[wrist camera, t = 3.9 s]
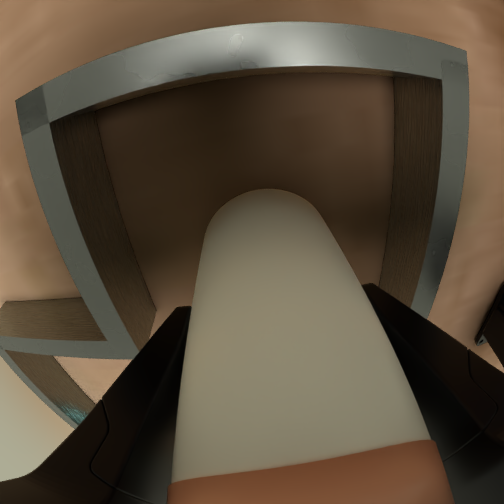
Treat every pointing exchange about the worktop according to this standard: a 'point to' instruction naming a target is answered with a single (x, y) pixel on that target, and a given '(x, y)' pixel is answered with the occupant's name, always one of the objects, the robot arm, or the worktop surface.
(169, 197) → the worktop surface
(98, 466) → the robot arm
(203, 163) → the worktop surface
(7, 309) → the channel
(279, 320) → the peg
